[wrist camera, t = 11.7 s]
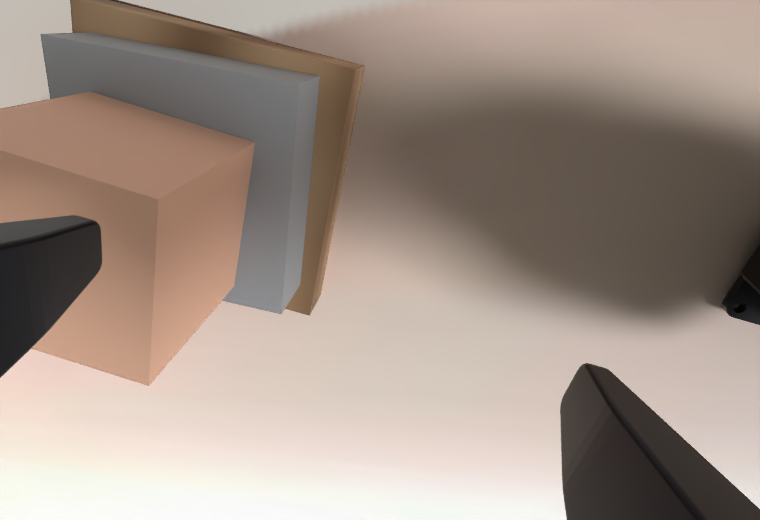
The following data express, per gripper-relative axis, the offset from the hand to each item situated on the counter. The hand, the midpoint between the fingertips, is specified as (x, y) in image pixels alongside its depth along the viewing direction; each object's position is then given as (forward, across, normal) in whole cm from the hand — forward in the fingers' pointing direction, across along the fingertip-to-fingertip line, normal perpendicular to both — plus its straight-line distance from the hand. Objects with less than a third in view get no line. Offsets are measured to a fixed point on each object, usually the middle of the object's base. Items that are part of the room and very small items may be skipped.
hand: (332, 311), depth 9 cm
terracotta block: (+9, +8, +3) cm, 12 cm away
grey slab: (+11, +8, +3) cm, 14 cm away
